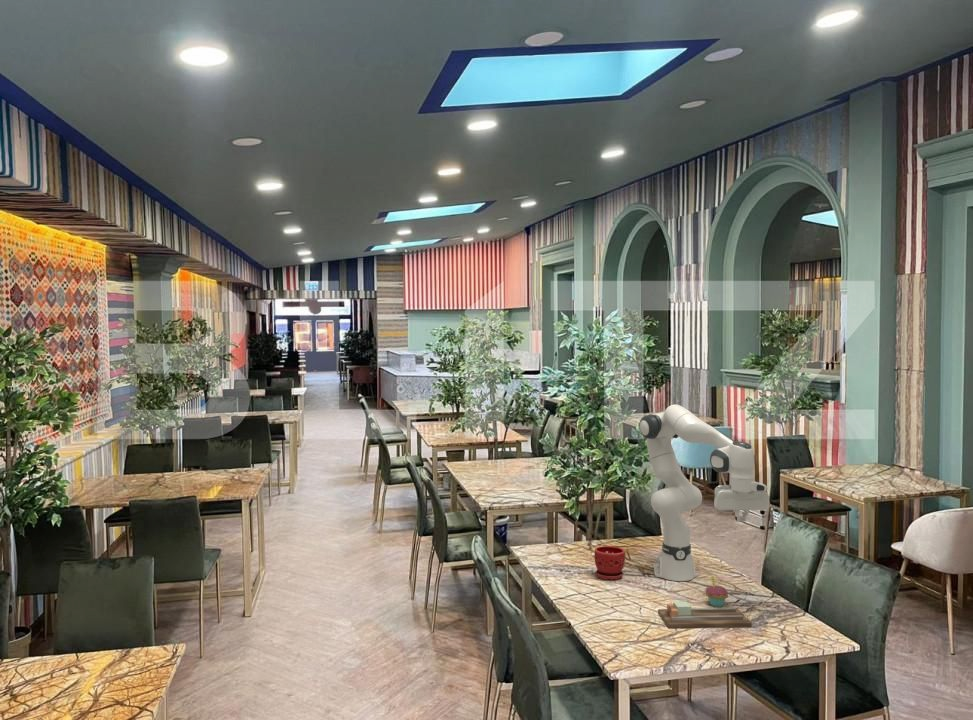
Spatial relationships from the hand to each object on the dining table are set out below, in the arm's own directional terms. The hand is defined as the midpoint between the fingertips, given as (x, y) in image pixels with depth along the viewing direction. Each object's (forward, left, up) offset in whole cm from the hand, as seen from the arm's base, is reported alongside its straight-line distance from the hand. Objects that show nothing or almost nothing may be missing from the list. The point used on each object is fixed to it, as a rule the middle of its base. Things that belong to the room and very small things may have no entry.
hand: (741, 521), depth 271 cm
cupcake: (-5, -8, -34) cm, 35 cm away
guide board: (+10, -18, -34) cm, 39 cm away
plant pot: (-39, -43, -34) cm, 67 cm away
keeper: (+10, -26, -32) cm, 42 cm away
